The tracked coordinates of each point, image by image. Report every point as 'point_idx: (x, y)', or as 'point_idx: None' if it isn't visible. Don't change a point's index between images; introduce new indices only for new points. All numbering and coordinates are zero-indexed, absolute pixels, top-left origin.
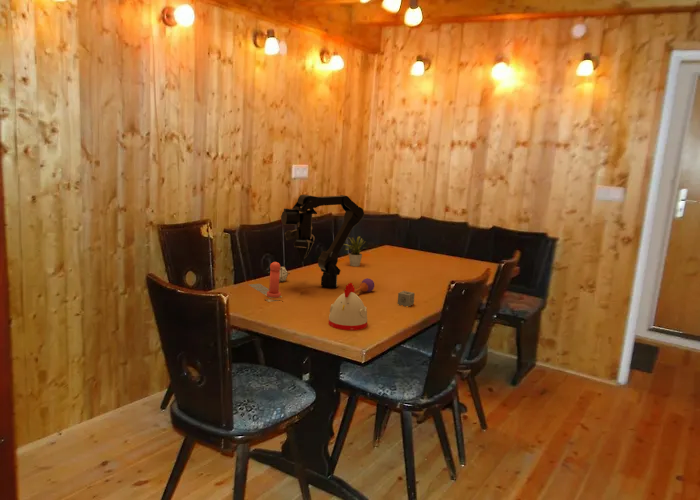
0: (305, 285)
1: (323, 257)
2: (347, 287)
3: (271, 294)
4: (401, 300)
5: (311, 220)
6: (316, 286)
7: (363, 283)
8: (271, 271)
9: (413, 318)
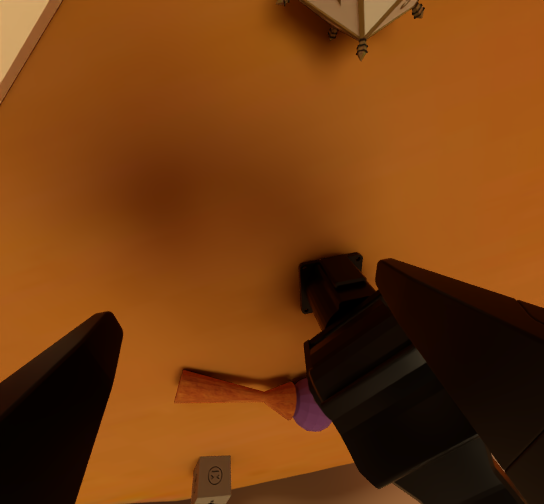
0: (318, 183)
1: (386, 401)
2: None
3: None
4: (196, 478)
5: None
6: (316, 236)
7: (287, 415)
8: None
9: (103, 499)
